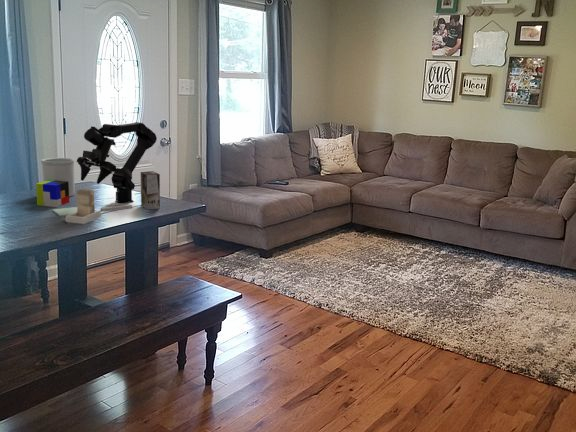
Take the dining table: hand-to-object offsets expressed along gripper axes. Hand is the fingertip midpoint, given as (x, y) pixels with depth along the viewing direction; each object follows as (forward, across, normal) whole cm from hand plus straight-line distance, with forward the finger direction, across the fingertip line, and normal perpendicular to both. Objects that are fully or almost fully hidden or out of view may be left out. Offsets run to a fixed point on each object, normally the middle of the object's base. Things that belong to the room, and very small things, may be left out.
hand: (89, 181), depth 263 cm
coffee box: (+1, +18, +23) cm, 29 cm away
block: (+17, +10, -4) cm, 20 cm away
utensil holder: (+5, -33, +18) cm, 38 cm away
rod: (+7, +9, +13) cm, 17 cm away
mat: (+16, -3, -1) cm, 16 cm away
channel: (+18, +10, -6) cm, 21 cm away
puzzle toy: (+12, -21, +6) cm, 25 cm away
